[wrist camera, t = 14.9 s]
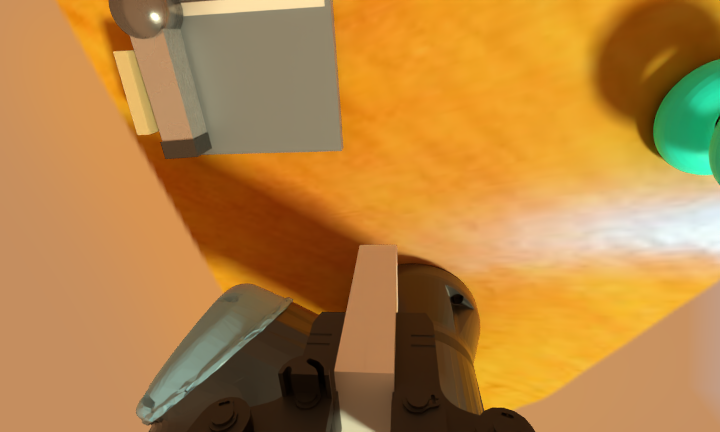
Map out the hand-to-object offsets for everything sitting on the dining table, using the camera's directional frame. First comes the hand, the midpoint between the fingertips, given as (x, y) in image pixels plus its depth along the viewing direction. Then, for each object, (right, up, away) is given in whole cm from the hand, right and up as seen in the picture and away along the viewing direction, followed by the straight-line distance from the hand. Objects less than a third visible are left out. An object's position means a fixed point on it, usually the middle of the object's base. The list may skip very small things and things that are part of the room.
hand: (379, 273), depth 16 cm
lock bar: (-18, +16, +20) cm, 31 cm away
